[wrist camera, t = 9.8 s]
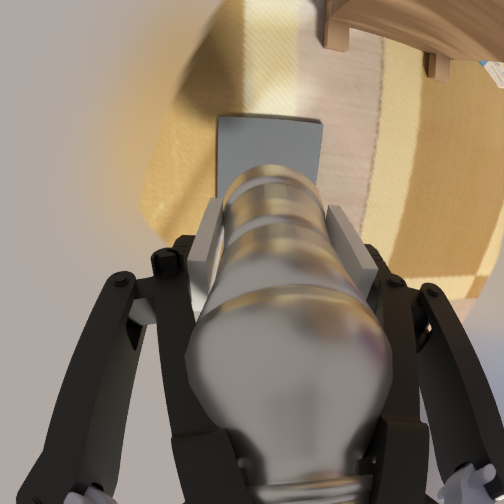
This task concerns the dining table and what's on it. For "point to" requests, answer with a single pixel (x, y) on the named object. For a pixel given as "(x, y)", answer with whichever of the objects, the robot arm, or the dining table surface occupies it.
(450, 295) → the dining table surface
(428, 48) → the screen
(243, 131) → the coaster
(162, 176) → the dining table surface
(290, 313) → the plastic bottle
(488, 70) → the ink box
